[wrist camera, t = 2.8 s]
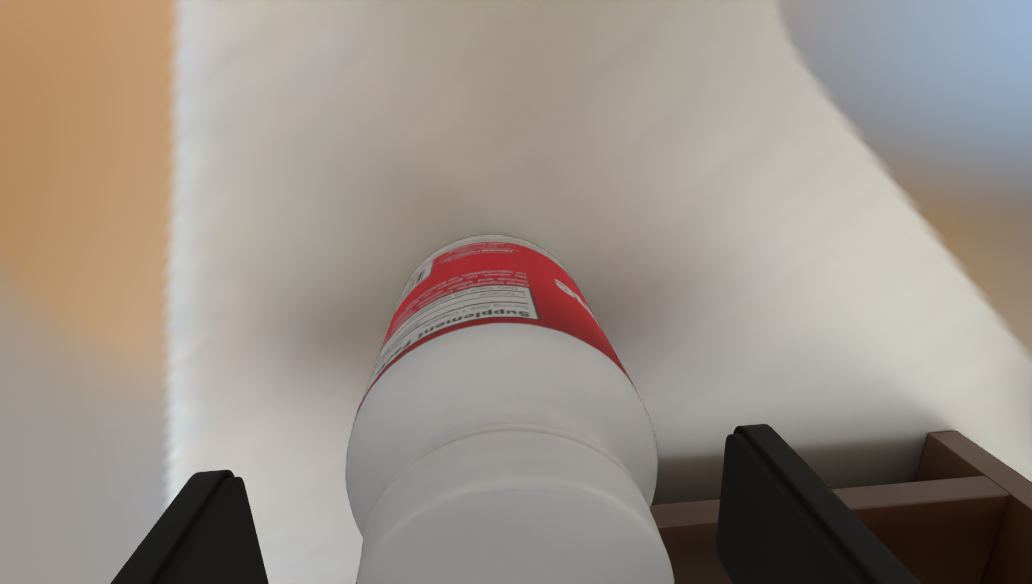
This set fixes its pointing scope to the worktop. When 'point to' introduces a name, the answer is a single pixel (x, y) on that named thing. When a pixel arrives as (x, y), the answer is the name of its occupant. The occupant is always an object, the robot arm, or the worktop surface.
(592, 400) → the pill bottle
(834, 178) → the worktop surface
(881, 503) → the box
